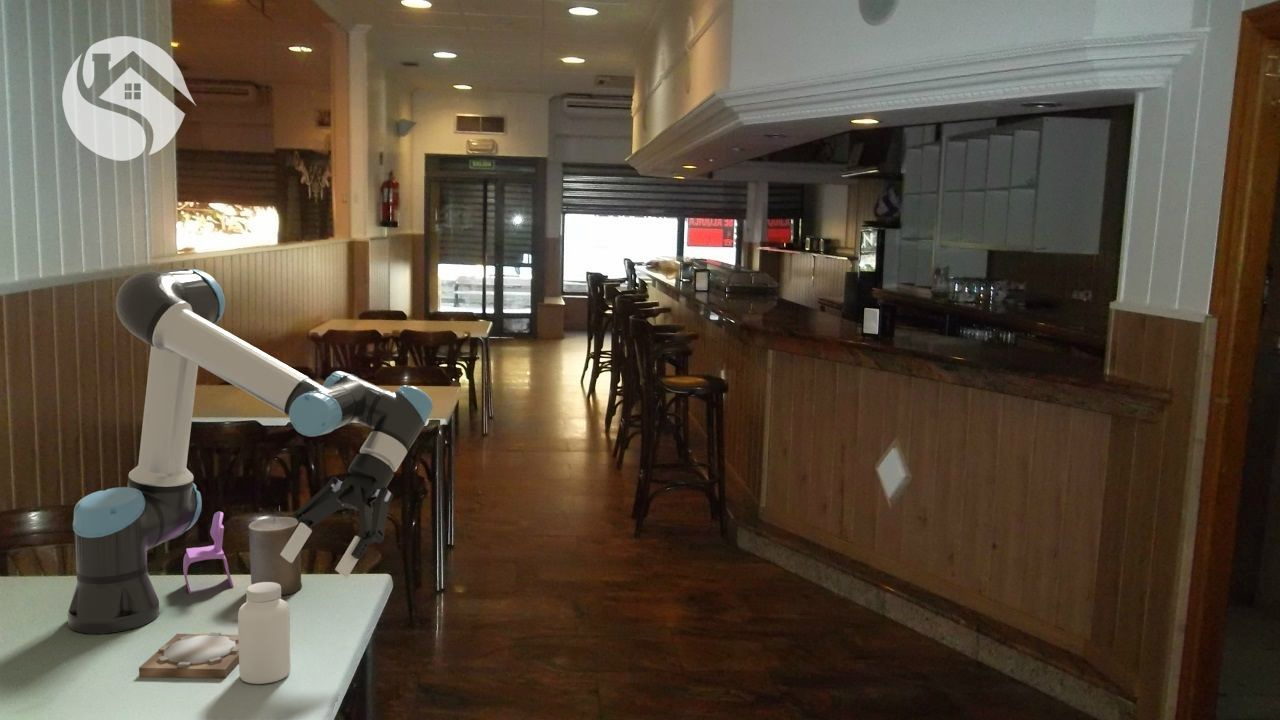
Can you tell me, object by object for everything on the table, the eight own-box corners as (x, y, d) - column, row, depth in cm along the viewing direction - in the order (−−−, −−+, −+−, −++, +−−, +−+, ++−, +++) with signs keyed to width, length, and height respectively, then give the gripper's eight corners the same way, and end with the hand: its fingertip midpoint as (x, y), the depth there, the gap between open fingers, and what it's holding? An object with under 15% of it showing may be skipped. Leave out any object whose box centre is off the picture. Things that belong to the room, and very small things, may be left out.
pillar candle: (310, 582, 214) (308, 511, 212) (286, 599, 205) (283, 525, 203) (266, 579, 216) (263, 509, 214) (241, 596, 206) (237, 522, 204)
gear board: (139, 676, 170) (138, 664, 169) (177, 641, 184) (176, 630, 183) (225, 678, 170) (225, 666, 169) (256, 643, 184) (256, 632, 183)
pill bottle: (301, 672, 172) (299, 584, 170) (260, 690, 166) (258, 599, 164) (270, 660, 177) (267, 575, 175) (229, 677, 170) (225, 589, 168)
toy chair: (183, 582, 213) (180, 511, 211) (229, 576, 217) (226, 506, 215) (187, 596, 206) (184, 522, 204) (234, 589, 210) (232, 516, 208)
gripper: (439, 484, 184) (377, 591, 173) (339, 465, 197) (277, 563, 186) (417, 460, 179) (352, 569, 168) (317, 442, 192) (251, 542, 181)
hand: (312, 566), depth 177 cm, fingers open, 13 cm apart
